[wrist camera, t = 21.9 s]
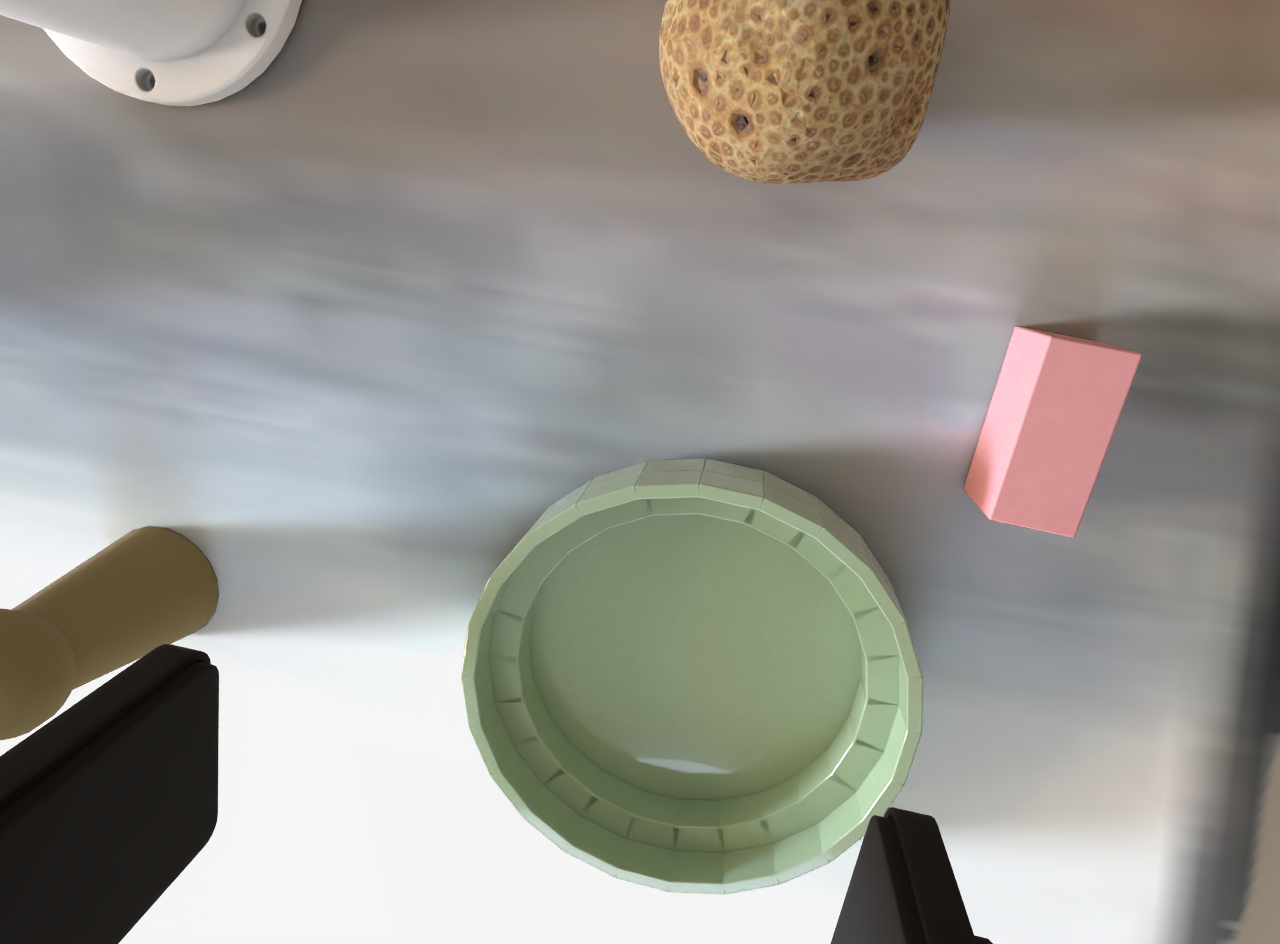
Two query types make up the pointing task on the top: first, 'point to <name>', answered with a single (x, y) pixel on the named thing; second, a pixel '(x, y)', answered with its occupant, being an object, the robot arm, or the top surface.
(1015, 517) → the eraser
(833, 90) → the natural sponge
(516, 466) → the top surface
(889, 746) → the bowl
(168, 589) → the cork
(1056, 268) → the top surface
